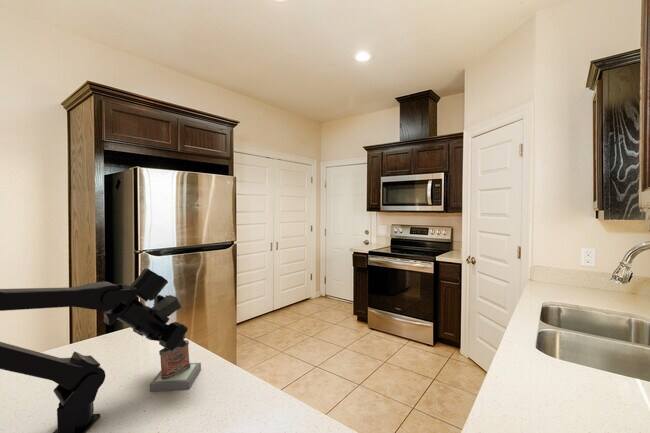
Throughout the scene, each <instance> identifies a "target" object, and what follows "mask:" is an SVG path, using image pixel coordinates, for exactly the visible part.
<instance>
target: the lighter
mask: <svg viewBox="0 0 650 433" xmlns="http://www.w3.org/2000/svg"><path fill="white" fill-rule="evenodd" d="M182 338H183V339H184V341H185V342H186V345H185V347H175V349H174V350H172V351H170V350H168V349H166V348H165V347H163V348H161V349H160V350H159V351H158V352H159V356H160V369H161V370H160V371H161V373H162V374H161V379H162V380H166V379H169V378H172V377H174V376H176V375H178V374H180V373H182V372H184V371H185V370H187V369H189V368H190V352H189V351H190V349H189V345H190V342H189V340H188V339H187V340H186V338H187V335H186V333H185V335H184V336H183V337H182Z"/></svg>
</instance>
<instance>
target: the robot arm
mask: <svg viewBox="0 0 650 433" xmlns="http://www.w3.org/2000/svg"><path fill="white" fill-rule="evenodd" d="M168 283H169V281H168V280H167V279H166V278H165V277H164V276H162V275H159V274H158V273H156V272H154V271H153V270H151V269H149V268H147V267H146V268H144V269H143V270H142V271H141V272H140V274H139V275H138V277H137V278H136V279H134V281H133V282H132V283H130V284H127V283H126V284H125V283H122V284H114V283H111V282H109V281H105V280H104V281H98V282H91V283H85V284H81V285H78V286H72V287H34V288H32V287H31V288H30V287H29V288H27V287H26V288H0V312H1V311H2V312H5V311H6V312H7V311H21V310H22V311H23V310H37V309H53V308H57V309H58V308H72V307H73V308H81V309H88V310H94V311H95V310H98V311H103V322H104V323H105V324H106V325H108V326H113V324H114V323H115V322H116V320H118V321H120V322H122V323H123V324H124V325H126V326H128V327H129V328H131V329H132V332H134V333H136V334H137V335H139V336H141V337H143V336H144V337H145V338H146V339H147V340H150V341H154V342H155V341H157V342H158V344H159V345H160V346H161V347H163V348H164V347H165V348H166V349H168V350H170V351H172V350H174V349H175V347H185V345H186V342H185V341H184V340H185V339H183V338H182V337H183V336H184V335H185V334H186V333H187V332H188V327H187V326H186V325H185V324H183V323H180V322H178V321H174V322H170V323H169V324H167V323H168V322H169V320H170V318H169V316H171V315H173V314H174V313H175V312H176V311H179V310H180V309H181V308H182V304H181V303H180V301H179V299H178V297H177V296H175V295H171V294H169V295H168V294H167V295H165V296H164V295H161V294H160V292H162V290H164V288H165V287H166V286H167V284H168ZM136 298H139V299H140V300H142V301H143V302H146V303H147V302H148V301H150V302H152V301H153V306H152V307H150V306H148V305H146V304H144V303H143V302H142V301H139V300H138V299H136ZM0 370H3V371H8V372H13V373H17V374H21V375H26V376H30V377H34V378H35V377H36V378H39V379H44V380H47V381H52V382H54V383H55V384H57V385H56V387H55V388H54V389H53V393H54V395H55V396H56V397H57V399H58V400H59V403H58V405H57V406H58V407H57V408H56V418H57V419H56V420H57V423H56V424H57V427H56V429H55V430H54V431H53V432H52V433H86V432H87V431H89V430H90V428H91V427H92V426H93V425H94V424H95V422H97V420H98V419H99V418H100V417H101V413H94V412H95V411H94V401H96V397H97V394H98V391H99V389H100V388H101V386H102V385H103V384H104V382H105V380H106V370H104V369H103V367H102V366H101V363H100V362H98V360H97V359H95V358H94V356H92V355H83V354H81V353H79V352H77V351H73V353H72V354H71V357H59V356H54V355H51V354H48V353H43V352H39V351H36V350H32V349H29V348H25V347H21V346H17V345H14V344H10V343H6V342H2V341H0Z"/></svg>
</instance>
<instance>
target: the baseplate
mask: <svg viewBox="0 0 650 433" xmlns="http://www.w3.org/2000/svg"><path fill="white" fill-rule="evenodd" d="M189 363H190V362H189ZM201 370H202V363H201V362H191V363H190V368H189V369H187V370H185V371H184V372H182V373H180V374H178V375H176V376H174V377H172V378H169V379H166V380H162V379H161V374H162V373H161V370H160V371H159V372H158V373H157V374H156V376H155V377H154V378H153V379H152V381H151V382H150V383H149V392H165V391H182V390H183V391H184V390H190V389H191V387H192V385H193V384H194V382H195V380H196V379H197V377H198V376H199V373H200V372H201Z"/></svg>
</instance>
